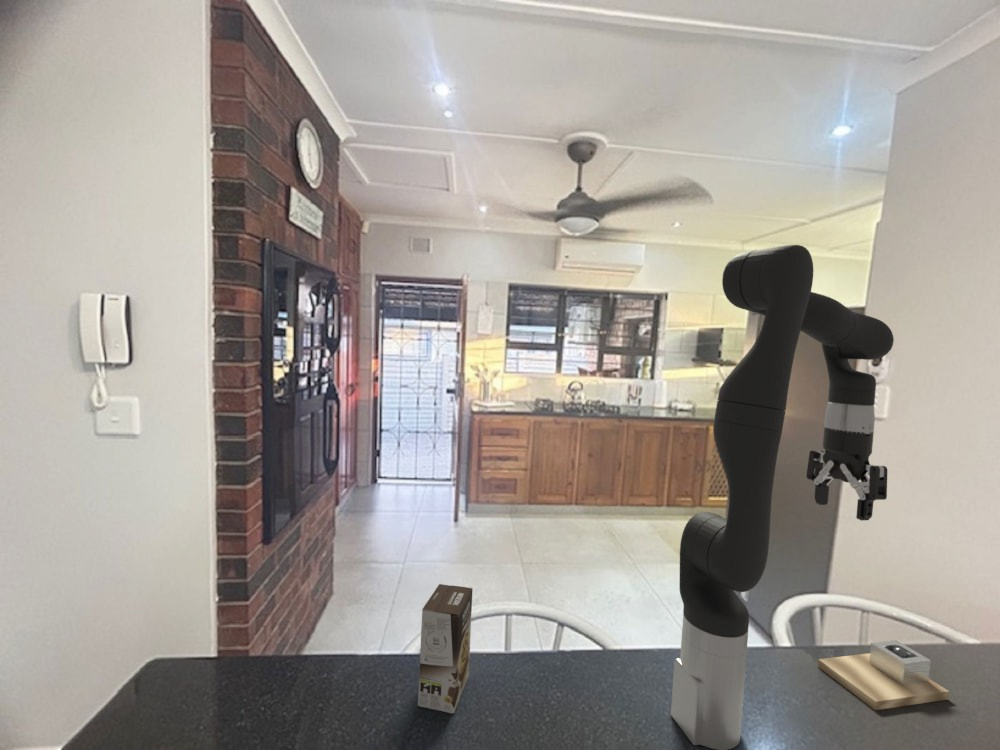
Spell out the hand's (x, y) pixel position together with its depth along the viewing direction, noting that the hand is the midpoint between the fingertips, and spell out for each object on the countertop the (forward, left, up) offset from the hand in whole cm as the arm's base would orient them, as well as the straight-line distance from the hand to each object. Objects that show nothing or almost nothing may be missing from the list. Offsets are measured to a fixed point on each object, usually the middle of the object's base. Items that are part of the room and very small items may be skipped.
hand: (841, 511), depth 89 cm
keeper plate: (+5, -6, -30) cm, 31 cm away
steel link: (+9, -6, -29) cm, 30 cm away
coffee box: (-74, +4, -30) cm, 80 cm away
